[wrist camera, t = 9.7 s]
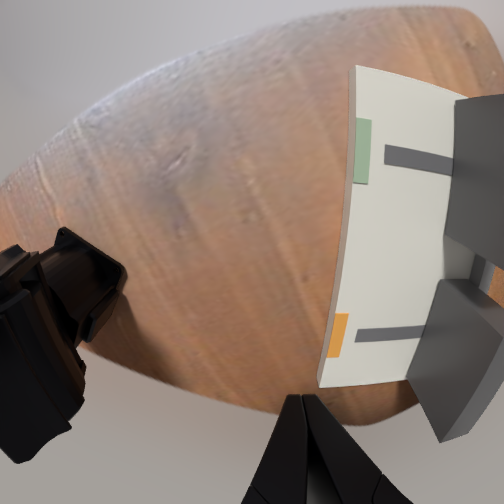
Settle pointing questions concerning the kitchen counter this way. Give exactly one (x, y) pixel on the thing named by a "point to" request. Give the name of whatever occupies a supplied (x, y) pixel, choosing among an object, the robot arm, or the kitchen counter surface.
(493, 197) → the block
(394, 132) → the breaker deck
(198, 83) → the kitchen counter surface
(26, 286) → the robot arm
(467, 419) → the block
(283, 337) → the kitchen counter surface
